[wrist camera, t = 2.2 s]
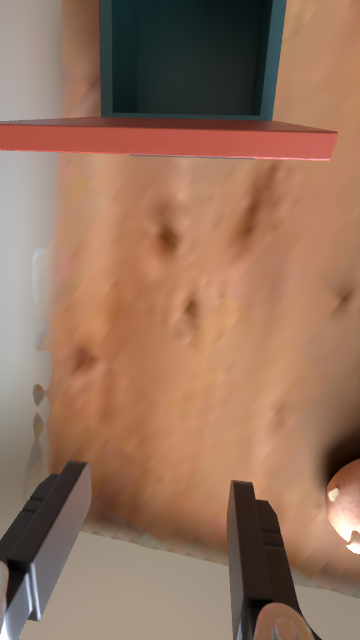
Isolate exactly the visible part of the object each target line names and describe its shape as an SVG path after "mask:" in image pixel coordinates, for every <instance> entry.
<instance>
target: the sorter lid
mask: <svg viewBox="0 0 360 640" xmlns="http://www.w3.org/2000/svg"><path fill="white" fill-rule="evenodd" d="M337 135H338V132H335V131H329V130H323V129H318V128H312V127H306V126H300V125H295V124H289V123H283V122H277V121H265V120H219V119H173V118H127V117H85V118H63V119H42V120H19V121H0V150H10V151H41V152H72V153H103V154H134V155H165V156H196V157H227V158H258V159H289V160H320V161H329V160H330V159H331V157H332V153H333V150H334V146H335V143H336V139H337Z"/></svg>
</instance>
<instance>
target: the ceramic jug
mask: <svg viewBox="0 0 360 640" xmlns="http://www.w3.org/2000/svg"><path fill="white" fill-rule="evenodd" d="M326 510H327V514H328V517H329V520H330V522H331V524H332V525H333V527H334V528H335V530H336V531H337V532H338V533H339V534H340V535H341V536H342V537H343V538H344V539H345V540H346V541H348V543H347V545H346V546H347V547H348V548H349V549H350V550H351V551H353V552H355V553H358V554H360V459H357V460H355V461H352V462H350V463H349V464H347V465H345V466H344V467H343V468H341V469H340V470H339V471H338V472H337V473H336V474H335V475H334V477H333V478H332V479H331V481H330V482H329V484H328V486H327V491H326Z"/></svg>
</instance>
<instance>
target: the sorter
mask: <svg viewBox="0 0 360 640" xmlns="http://www.w3.org/2000/svg"><path fill="white" fill-rule="evenodd" d="M286 1H287V0H99V19H100V71H101V117H127V118H173V119H219V120H265V121H272V116H273V108H274V100H275V91H276V83H277V75H278V67H279V58H280V50H281V42H282V34H283V26H284V17H285V9H286ZM129 155H134V154H129ZM134 156H165V155H134ZM165 157H195V158H226V159H255V158H227V157H196V156H165Z"/></svg>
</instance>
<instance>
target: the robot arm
mask: <svg viewBox="0 0 360 640" xmlns="http://www.w3.org/2000/svg"><path fill="white" fill-rule="evenodd" d="M91 498H92V482H91V464H90V462H83V461H75V460H70V461H68V463H67V464H66V466H65V467H64V469H63V470H62V472H61V474H51V475H50V476H49V477H48V478H46V479H45V480H44V481H43V482H41V483H40V484H39V485H38V487H37V488H36V490H35V491H34V493H33V494H32V496H31V497H30V500H28V501H27V503H26V504H25V506H24V507H23V509H22V511H20V513H19V514H18V516H17V517H16V519H15V520H14V522H13V523H12V524H11V526H10V527H9V529H8V530H7V532H6V533H5V534H4V536H3V537H2V539H1V540H0V640H19V636H20V634H21V631H22V629H23V627H24V625H25V623H26V621H27V620H33V621H40V619H41V617H42V614H43V612H44V610H45V607H46V605H47V603H48V601H49V599H50V596H51V594H52V592H53V590H54V587H55V585H56V583H57V580H58V578H59V576H60V574H61V571H62V569H63V567H64V565H65V563H66V560H67V558H68V556H69V554H70V551H71V549H72V547H73V545H74V542H75V540H76V538H77V536H78V533H79V531H80V529H81V527H82V524H83V522H84V520H85V518H86V515H87V513H88V511H89V507H90V504H91ZM227 543H228V559H229V576H230V592H231V609H232V627H233V640H322V639H321V638H319V636H317V634H316V633H315V632H314V631H313V630H312V629H311V628H310V626H309V625H308V623H307V622H306V620H305V618H304V617H303V615H302V612H301V610H300V608H299V605H298V601H297V597H296V593H295V588H294V584H293V580H292V576H291V572H290V568H289V564H288V560H287V556H286V551H285V548H284V543H283V539H282V535H281V531H280V527H279V523H278V519H277V515H276V513H275V512H274V510H273V509H272V507H271V506H270V504H269V503H268V501H264V500H256V499H255V493H254V488H253V484H252V482H245V481H237V480H232V481H231V486H230V494H229V502H228V510H227Z"/></svg>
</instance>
